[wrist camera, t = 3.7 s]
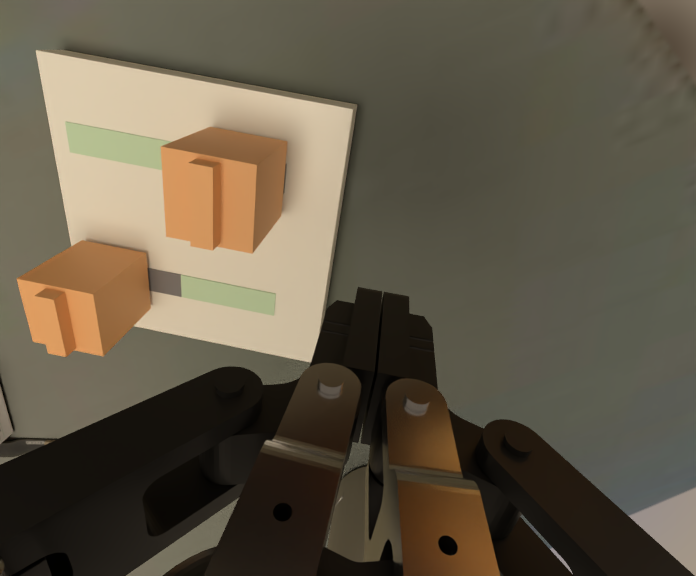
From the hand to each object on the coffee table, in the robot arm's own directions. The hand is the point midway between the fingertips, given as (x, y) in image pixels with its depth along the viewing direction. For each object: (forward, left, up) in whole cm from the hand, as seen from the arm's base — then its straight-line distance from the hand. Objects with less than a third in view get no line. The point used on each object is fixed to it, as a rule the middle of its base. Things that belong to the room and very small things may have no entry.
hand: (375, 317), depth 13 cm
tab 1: (+16, +8, -11) cm, 21 cm away
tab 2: (+8, 0, -11) cm, 14 cm away
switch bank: (+11, +4, -14) cm, 18 cm away
